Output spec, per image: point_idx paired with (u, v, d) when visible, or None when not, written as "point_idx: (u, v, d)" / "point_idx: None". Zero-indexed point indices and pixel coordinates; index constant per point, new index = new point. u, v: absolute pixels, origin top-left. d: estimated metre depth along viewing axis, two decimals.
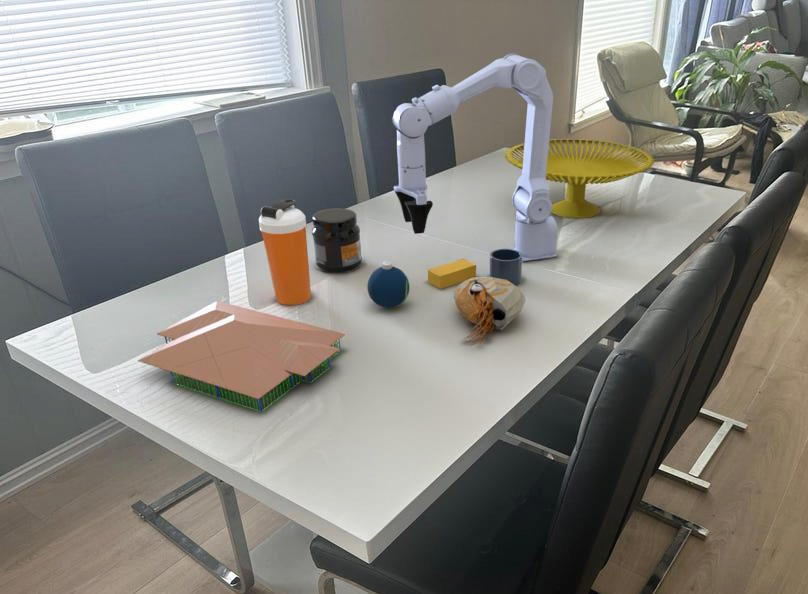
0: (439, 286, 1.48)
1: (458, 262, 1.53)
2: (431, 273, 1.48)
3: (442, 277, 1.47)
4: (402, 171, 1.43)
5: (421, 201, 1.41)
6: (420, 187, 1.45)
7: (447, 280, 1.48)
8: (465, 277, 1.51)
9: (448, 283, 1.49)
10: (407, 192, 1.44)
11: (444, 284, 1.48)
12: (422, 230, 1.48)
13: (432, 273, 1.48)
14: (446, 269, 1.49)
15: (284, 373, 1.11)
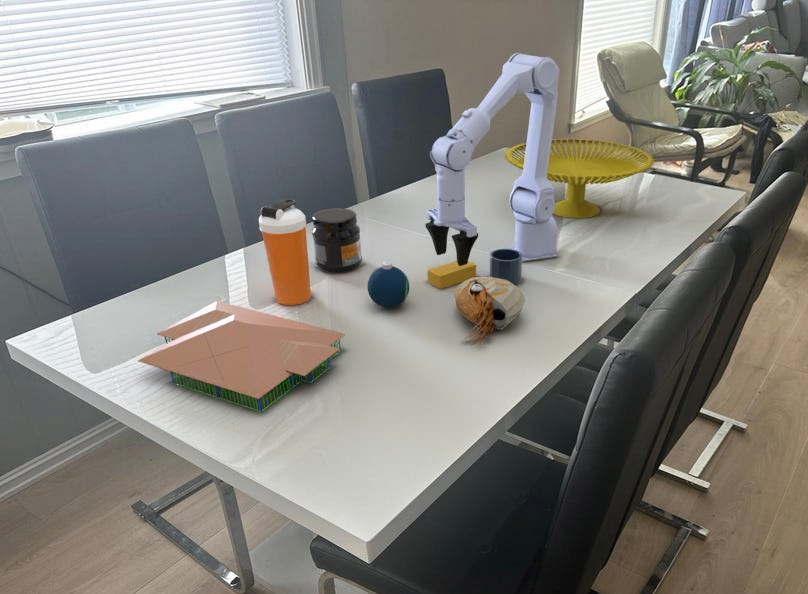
0: (439, 286, 1.48)
1: None
2: (431, 273, 1.48)
3: (442, 277, 1.47)
4: (446, 205, 1.40)
5: (472, 233, 1.40)
6: (462, 219, 1.43)
7: (447, 280, 1.48)
8: (465, 277, 1.51)
9: (448, 283, 1.49)
10: (453, 225, 1.41)
11: (444, 284, 1.48)
12: (466, 261, 1.47)
13: (432, 273, 1.48)
14: (446, 269, 1.49)
15: (284, 373, 1.11)
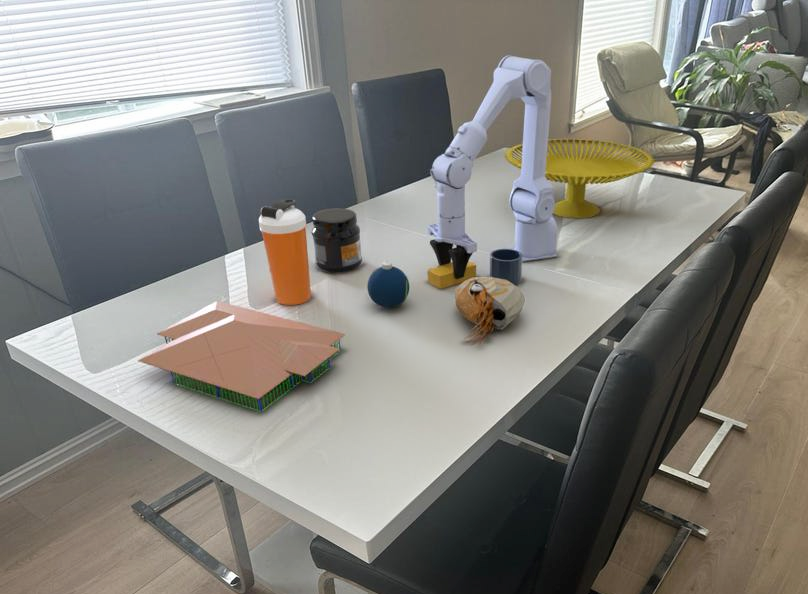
0: (439, 286, 1.48)
1: None
2: (431, 273, 1.48)
3: (442, 277, 1.47)
4: (446, 221, 1.42)
5: (472, 249, 1.42)
6: (463, 235, 1.45)
7: (447, 280, 1.48)
8: (465, 277, 1.51)
9: (448, 283, 1.48)
10: (453, 241, 1.43)
11: (444, 284, 1.48)
12: (462, 274, 1.49)
13: (432, 273, 1.48)
14: (447, 269, 1.49)
15: (284, 373, 1.11)
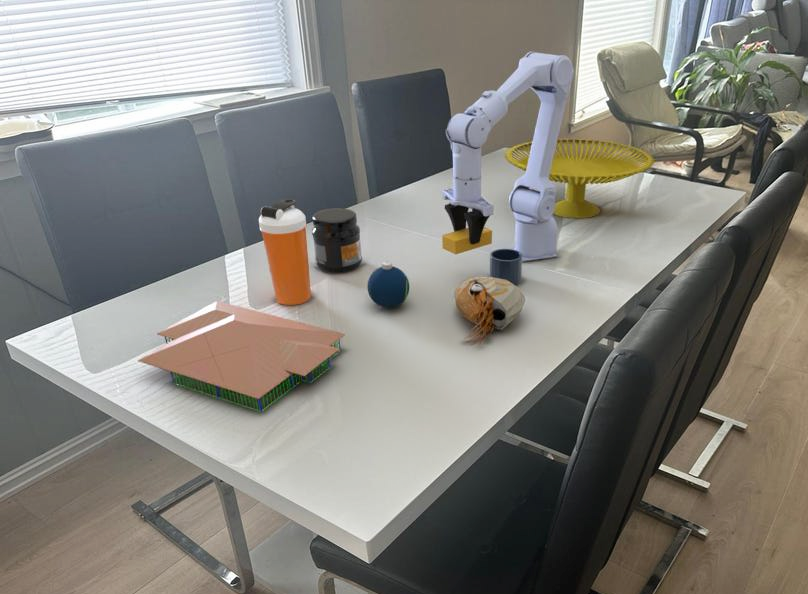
0: (454, 251, 1.44)
1: None
2: (446, 238, 1.44)
3: (458, 242, 1.43)
4: (462, 184, 1.38)
5: (489, 212, 1.38)
6: (479, 198, 1.41)
7: (463, 246, 1.44)
8: (481, 243, 1.47)
9: (463, 248, 1.44)
10: (469, 204, 1.39)
11: (459, 249, 1.44)
12: (478, 240, 1.45)
13: (447, 238, 1.44)
14: (462, 234, 1.45)
15: (284, 373, 1.11)
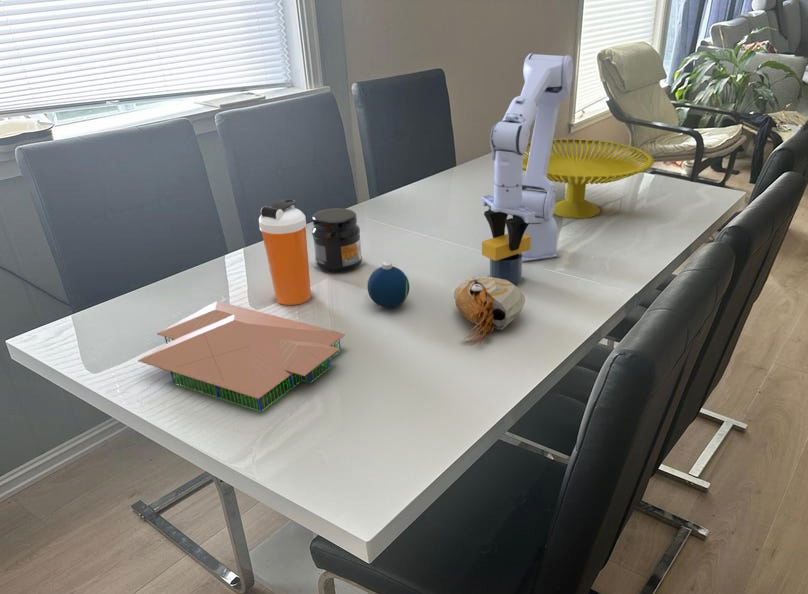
0: (494, 257, 1.44)
1: None
2: (486, 245, 1.45)
3: (498, 249, 1.43)
4: (504, 190, 1.39)
5: (530, 219, 1.39)
6: (519, 205, 1.42)
7: (502, 252, 1.45)
8: (520, 249, 1.48)
9: (503, 255, 1.45)
10: (510, 211, 1.40)
11: (499, 256, 1.44)
12: (518, 246, 1.46)
13: (487, 245, 1.45)
14: (501, 241, 1.46)
15: (284, 373, 1.11)
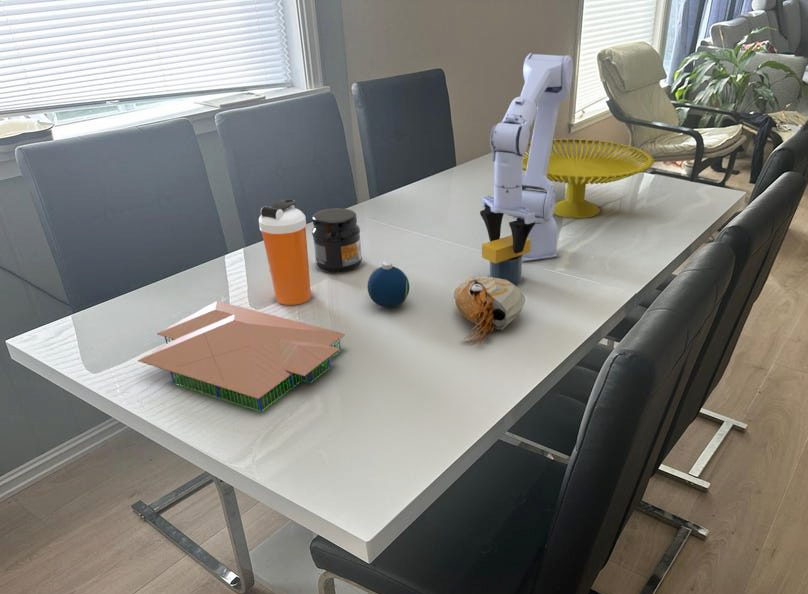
0: (494, 260, 1.44)
1: (511, 237, 1.49)
2: (486, 247, 1.45)
3: (498, 251, 1.44)
4: (504, 191, 1.39)
5: (530, 220, 1.39)
6: (519, 206, 1.42)
7: (502, 255, 1.45)
8: (520, 252, 1.48)
9: (503, 258, 1.45)
10: (510, 212, 1.40)
11: (499, 258, 1.45)
12: (522, 249, 1.45)
13: (487, 247, 1.45)
14: (501, 244, 1.46)
15: (284, 373, 1.11)
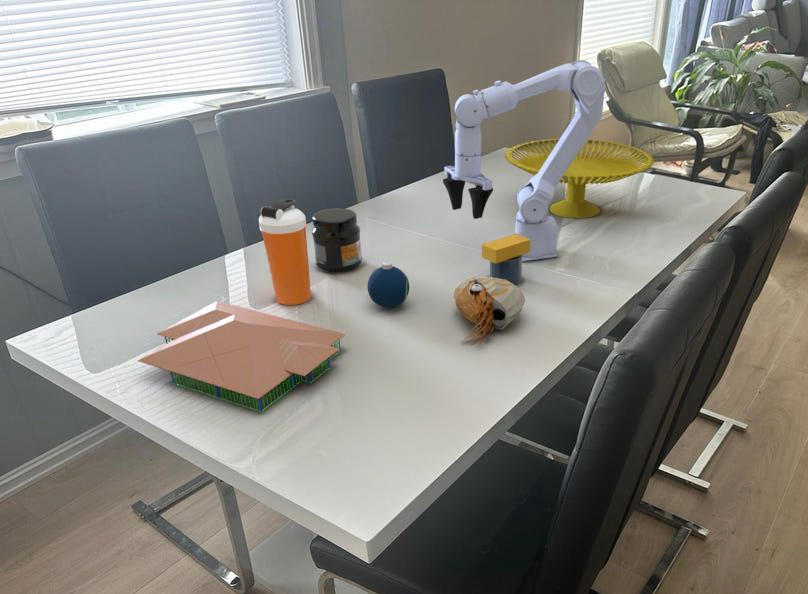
0: (494, 260, 1.44)
1: (511, 237, 1.49)
2: (486, 247, 1.45)
3: (498, 251, 1.44)
4: (463, 160, 1.50)
5: (488, 186, 1.50)
6: (478, 174, 1.52)
7: (502, 255, 1.45)
8: (520, 252, 1.48)
9: (503, 258, 1.45)
10: (470, 179, 1.51)
11: (499, 258, 1.45)
12: (481, 215, 1.56)
13: (487, 247, 1.45)
14: (501, 244, 1.46)
15: (284, 373, 1.11)
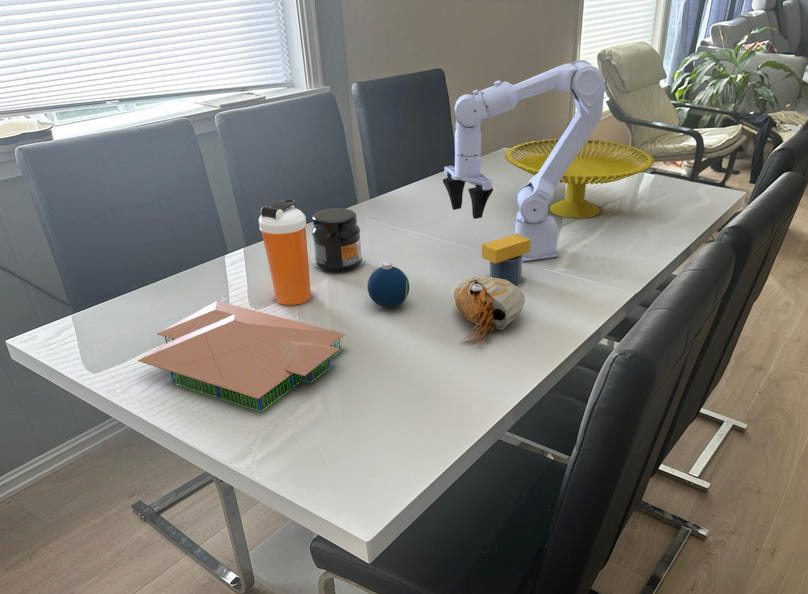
0: (494, 260, 1.44)
1: (511, 237, 1.49)
2: (486, 247, 1.45)
3: (498, 251, 1.44)
4: (463, 160, 1.50)
5: (488, 186, 1.50)
6: (478, 174, 1.52)
7: (502, 255, 1.45)
8: (520, 252, 1.48)
9: (503, 258, 1.45)
10: (469, 179, 1.51)
11: (499, 258, 1.45)
12: (481, 215, 1.56)
13: (487, 247, 1.45)
14: (501, 244, 1.46)
15: (284, 373, 1.11)
